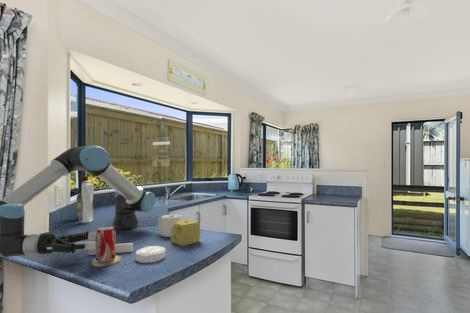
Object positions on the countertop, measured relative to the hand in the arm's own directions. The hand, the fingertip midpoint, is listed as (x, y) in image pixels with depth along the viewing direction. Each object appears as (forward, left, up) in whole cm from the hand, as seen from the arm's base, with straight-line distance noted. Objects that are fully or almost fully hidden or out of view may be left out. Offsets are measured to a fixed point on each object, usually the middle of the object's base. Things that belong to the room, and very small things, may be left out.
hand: (100, 239), depth 108 cm
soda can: (-2, +1, -8) cm, 9 cm away
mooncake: (-17, +9, -9) cm, 21 cm away
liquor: (-16, -101, -9) cm, 103 cm away
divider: (-7, -9, -9) cm, 14 cm away
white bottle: (-14, -86, -9) cm, 88 cm away
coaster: (-2, +1, -9) cm, 9 cm away
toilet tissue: (-40, -18, -9) cm, 45 cm away
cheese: (-39, 0, -9) cm, 40 cm away
